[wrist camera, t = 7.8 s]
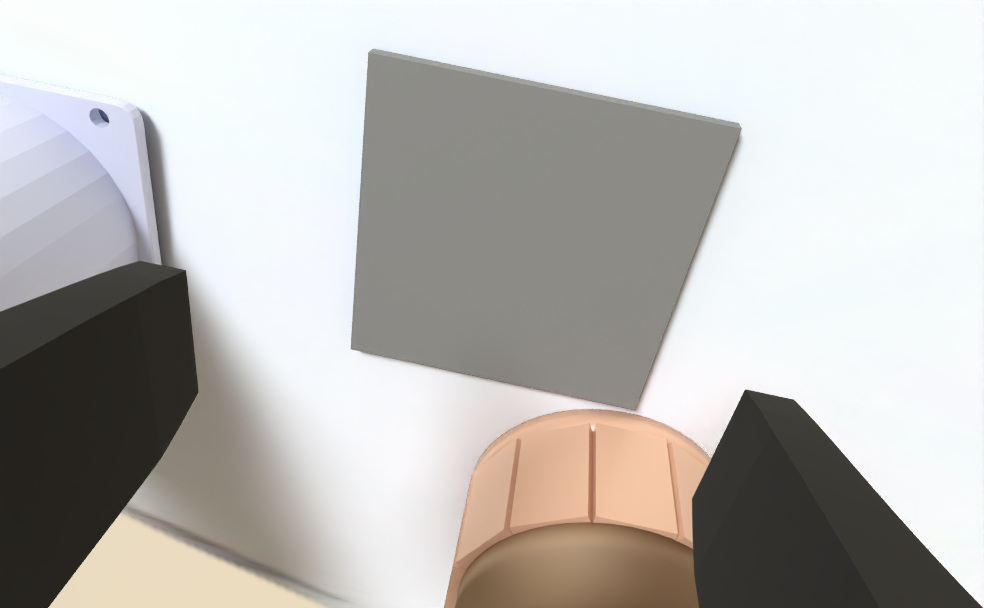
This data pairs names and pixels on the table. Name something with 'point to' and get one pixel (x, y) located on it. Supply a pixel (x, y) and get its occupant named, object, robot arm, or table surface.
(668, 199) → the mat
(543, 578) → the lid
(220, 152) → the table surface
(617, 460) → the peach cylinder
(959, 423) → the table surface
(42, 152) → the robot arm
